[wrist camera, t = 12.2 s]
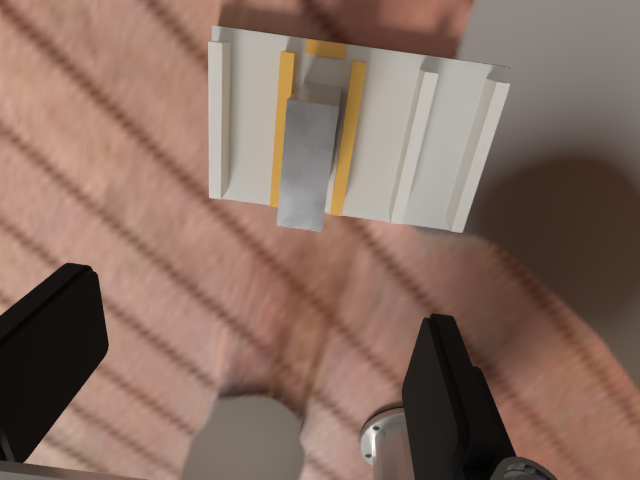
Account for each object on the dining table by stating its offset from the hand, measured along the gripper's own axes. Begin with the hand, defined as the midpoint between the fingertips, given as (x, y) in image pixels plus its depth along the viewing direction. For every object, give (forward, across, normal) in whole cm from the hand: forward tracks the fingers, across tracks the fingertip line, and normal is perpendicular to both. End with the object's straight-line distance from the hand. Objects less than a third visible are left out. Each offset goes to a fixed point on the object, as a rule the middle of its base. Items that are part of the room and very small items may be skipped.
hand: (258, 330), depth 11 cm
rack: (+26, -2, 0) cm, 26 cm away
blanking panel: (+25, 0, 0) cm, 25 cm away
